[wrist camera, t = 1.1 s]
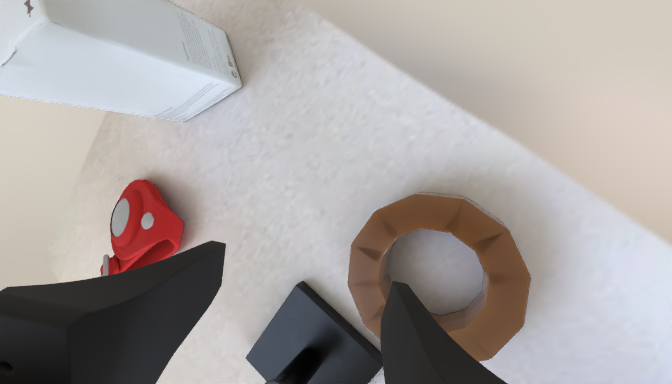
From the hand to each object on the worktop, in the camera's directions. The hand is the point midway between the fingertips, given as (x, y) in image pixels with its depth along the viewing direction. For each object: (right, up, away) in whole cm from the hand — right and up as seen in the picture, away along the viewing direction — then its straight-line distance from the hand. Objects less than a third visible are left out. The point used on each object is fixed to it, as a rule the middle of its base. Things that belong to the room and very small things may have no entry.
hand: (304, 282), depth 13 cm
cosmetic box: (-11, +14, +17) cm, 25 cm away
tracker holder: (-19, 0, +21) cm, 28 cm away
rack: (-1, -10, +14) cm, 17 cm away
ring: (+8, -2, +10) cm, 13 cm away
